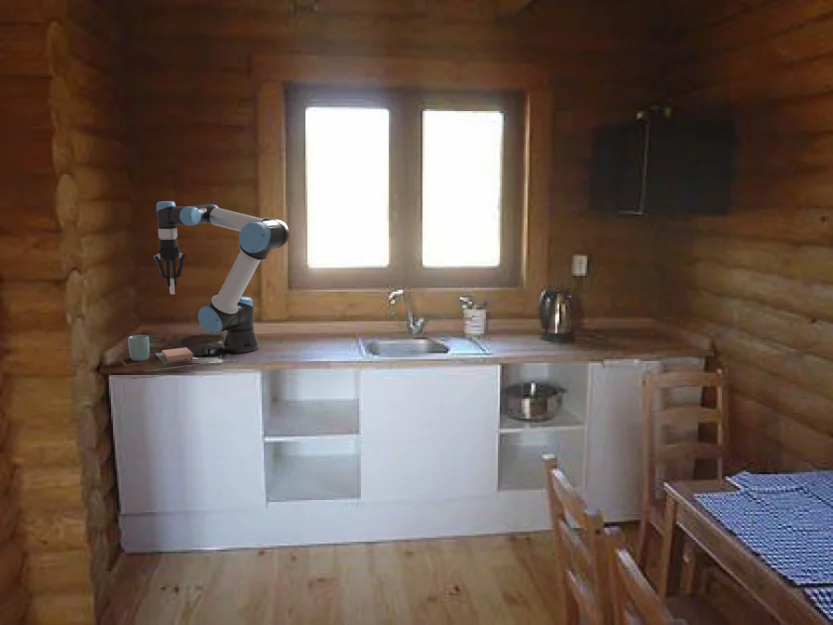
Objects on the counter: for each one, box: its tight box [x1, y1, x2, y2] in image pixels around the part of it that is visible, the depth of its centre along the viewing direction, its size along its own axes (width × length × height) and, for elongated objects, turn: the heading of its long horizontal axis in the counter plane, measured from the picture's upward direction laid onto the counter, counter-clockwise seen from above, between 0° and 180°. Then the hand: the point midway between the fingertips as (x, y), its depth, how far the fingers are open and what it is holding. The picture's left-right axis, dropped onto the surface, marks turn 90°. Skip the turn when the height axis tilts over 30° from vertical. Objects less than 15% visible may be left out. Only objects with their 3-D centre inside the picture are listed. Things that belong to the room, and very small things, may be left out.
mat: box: [154, 352, 190, 365], centre depth 309 cm, size 18×14×1 cm
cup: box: [127, 334, 150, 362], centre depth 304 cm, size 8×8×10 cm
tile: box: [161, 347, 194, 361], centre depth 307 cm, size 2×10×11 cm
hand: (172, 293), depth 317 cm, fingers closed
